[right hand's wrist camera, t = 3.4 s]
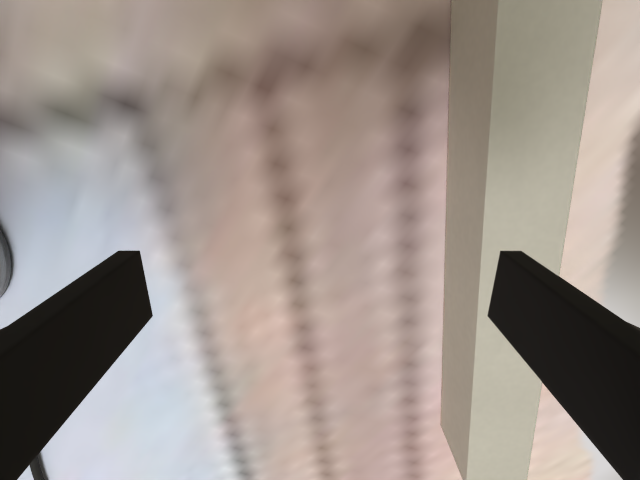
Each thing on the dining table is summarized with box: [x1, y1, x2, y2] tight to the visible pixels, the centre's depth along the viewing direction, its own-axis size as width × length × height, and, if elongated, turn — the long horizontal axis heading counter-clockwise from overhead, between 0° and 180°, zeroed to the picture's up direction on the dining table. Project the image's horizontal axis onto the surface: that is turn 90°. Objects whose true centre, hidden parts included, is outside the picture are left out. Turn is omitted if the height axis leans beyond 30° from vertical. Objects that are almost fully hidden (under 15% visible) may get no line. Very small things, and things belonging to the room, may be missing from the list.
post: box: [441, 0, 602, 480], centre depth 23 cm, size 77×6×7 cm, turn 6°
